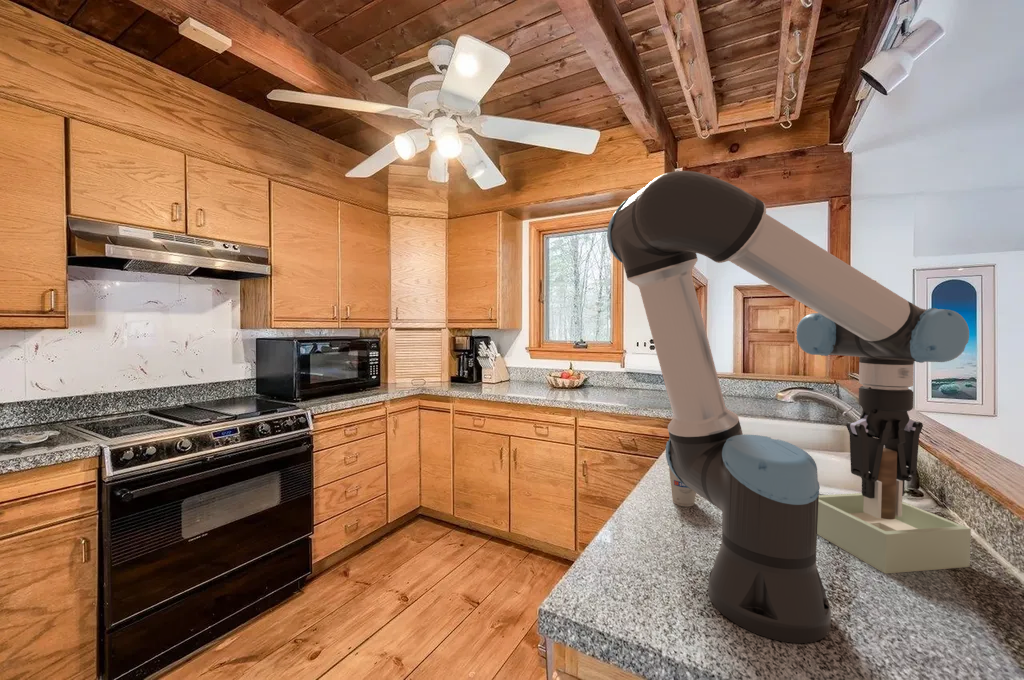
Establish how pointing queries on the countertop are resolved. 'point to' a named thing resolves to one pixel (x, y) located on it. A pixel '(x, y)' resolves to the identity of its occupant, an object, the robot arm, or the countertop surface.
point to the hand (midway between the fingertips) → (882, 513)
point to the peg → (888, 483)
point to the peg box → (893, 536)
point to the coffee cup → (681, 492)
